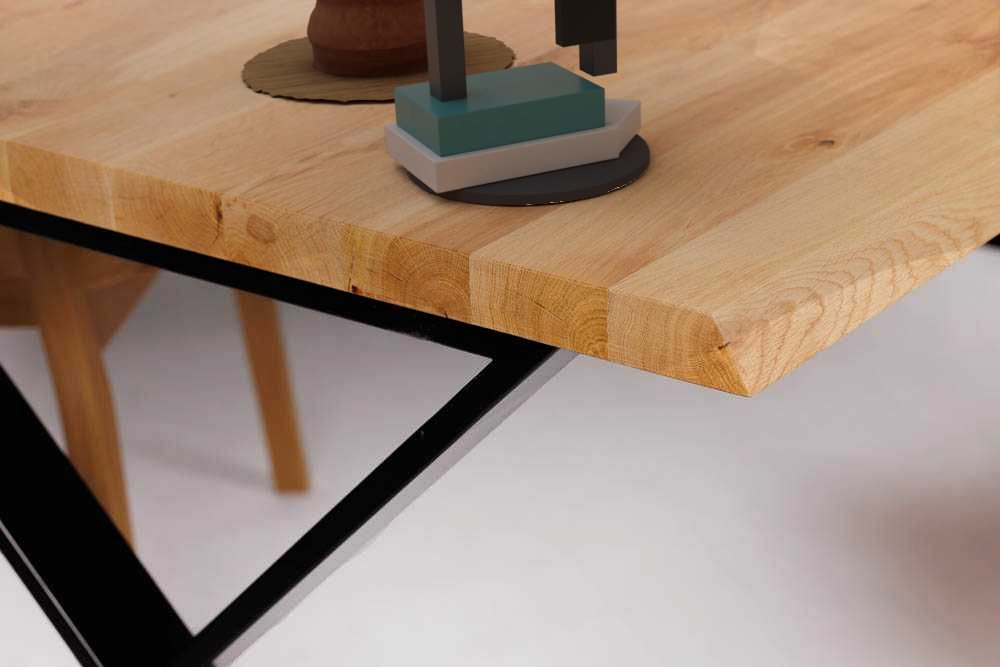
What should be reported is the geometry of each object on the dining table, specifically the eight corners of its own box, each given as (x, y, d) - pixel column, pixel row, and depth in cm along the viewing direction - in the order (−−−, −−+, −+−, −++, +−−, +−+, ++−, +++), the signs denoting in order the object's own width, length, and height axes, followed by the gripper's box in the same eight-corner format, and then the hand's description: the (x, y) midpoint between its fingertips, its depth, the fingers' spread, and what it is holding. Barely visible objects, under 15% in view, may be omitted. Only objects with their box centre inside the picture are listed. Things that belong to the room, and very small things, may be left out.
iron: (437, 193, 69) (420, -52, 64) (386, 153, 75) (367, -75, 70) (674, 147, 74) (676, -86, 69) (609, 112, 80) (607, -104, 75)
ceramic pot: (478, 108, 84) (472, -14, 81) (195, 101, 88) (179, -16, 85) (539, 31, 100) (535, -73, 97) (296, 28, 104) (286, -73, 101)
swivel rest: (359, 164, 76) (358, 153, 76) (539, 111, 83) (539, 101, 83) (512, 226, 67) (512, 214, 67) (700, 161, 74) (700, 149, 74)
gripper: (735, -510, 53) (723, 56, 63) (469, -459, 74) (489, -38, 83) (554, -508, 51) (569, 83, 60) (330, -455, 71) (366, -21, 80)
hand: (522, 14), depth 72 cm, fingers open, 13 cm apart
